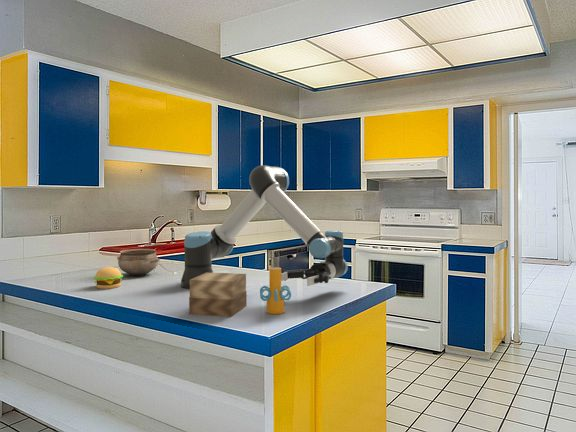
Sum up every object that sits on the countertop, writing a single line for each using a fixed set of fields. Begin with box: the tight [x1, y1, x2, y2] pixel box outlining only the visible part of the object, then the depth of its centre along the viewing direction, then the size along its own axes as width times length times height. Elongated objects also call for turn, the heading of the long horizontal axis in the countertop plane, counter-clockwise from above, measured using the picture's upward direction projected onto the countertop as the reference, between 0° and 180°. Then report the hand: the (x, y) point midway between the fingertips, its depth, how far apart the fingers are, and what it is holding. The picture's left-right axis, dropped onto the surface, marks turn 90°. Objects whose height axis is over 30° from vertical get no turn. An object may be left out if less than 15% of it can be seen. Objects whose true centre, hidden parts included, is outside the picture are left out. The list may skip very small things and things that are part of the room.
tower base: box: [188, 290, 248, 318], centre depth 159 cm, size 15×15×6 cm
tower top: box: [189, 272, 247, 300], centre depth 159 cm, size 15×15×6 cm
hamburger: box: [93, 266, 124, 290], centre depth 200 cm, size 12×12×9 cm
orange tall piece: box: [259, 267, 292, 315], centre depth 155 cm, size 12×10×15 cm
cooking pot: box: [116, 248, 161, 277], centre depth 229 cm, size 25×19×12 cm
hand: (291, 280), depth 163 cm, fingers open, 13 cm apart
